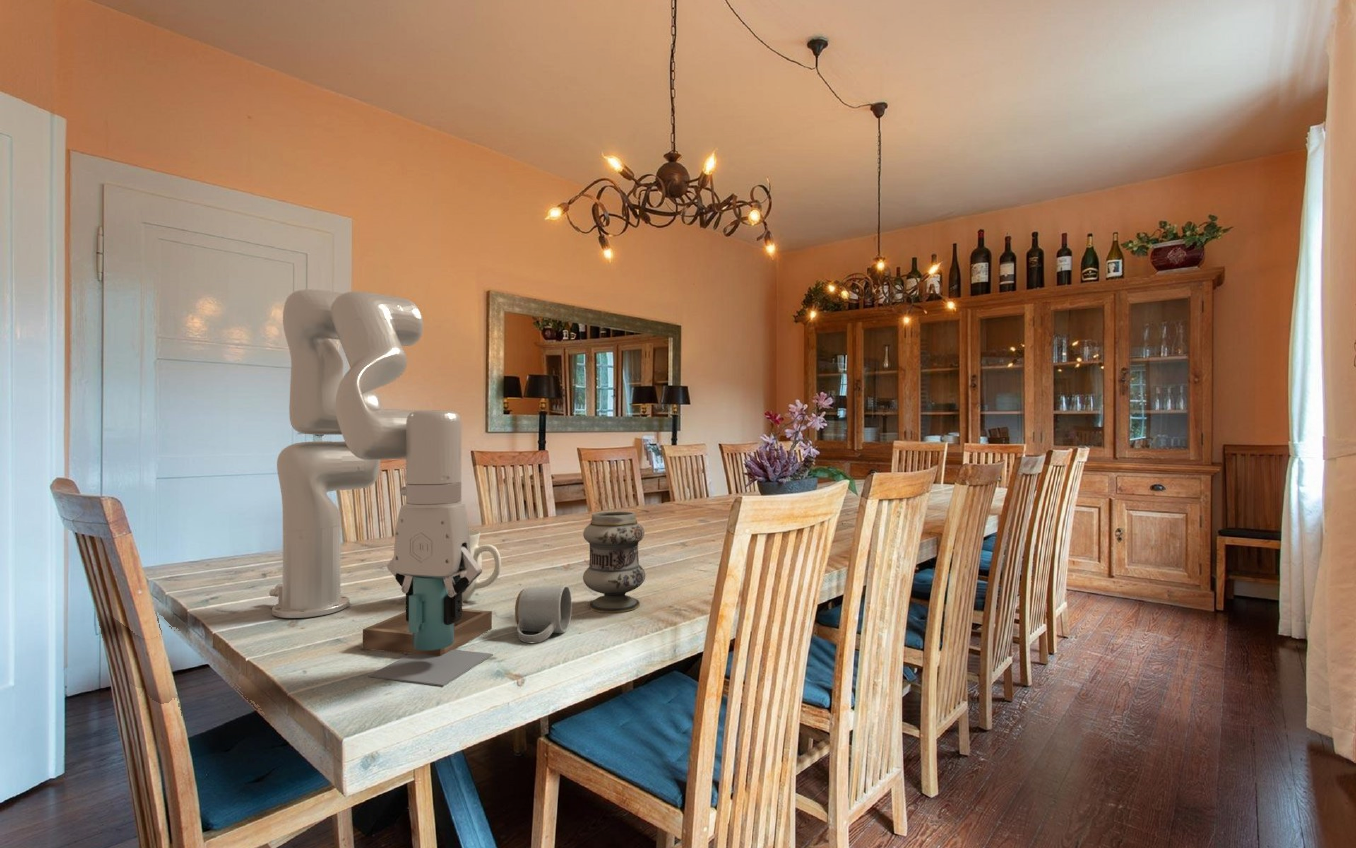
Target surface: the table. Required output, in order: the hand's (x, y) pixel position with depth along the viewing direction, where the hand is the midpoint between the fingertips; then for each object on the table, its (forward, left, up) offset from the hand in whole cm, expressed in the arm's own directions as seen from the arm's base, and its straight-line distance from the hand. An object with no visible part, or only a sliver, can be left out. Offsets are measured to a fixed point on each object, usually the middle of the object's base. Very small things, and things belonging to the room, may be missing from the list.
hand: (433, 619), depth 91 cm
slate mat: (0, 0, -7) cm, 7 cm away
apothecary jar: (+14, +36, -7) cm, 39 cm away
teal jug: (0, 0, -4) cm, 4 cm away
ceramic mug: (+8, +18, -7) cm, 21 cm away
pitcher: (-18, +32, -7) cm, 37 cm away
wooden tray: (-8, +10, -7) cm, 14 cm away
